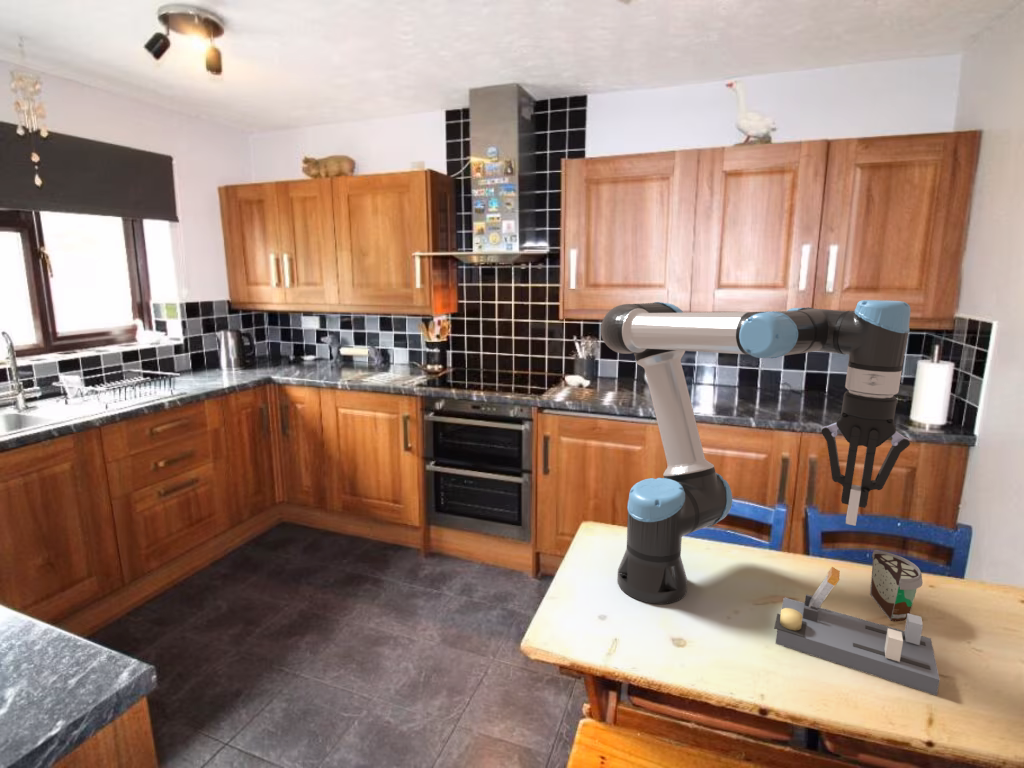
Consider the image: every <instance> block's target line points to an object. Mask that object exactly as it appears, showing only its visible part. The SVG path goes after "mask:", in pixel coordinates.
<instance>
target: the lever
mask: <svg viewBox="0 0 1024 768" xmlns="http://www.w3.org/2000/svg"><path fill="white" fill-rule="evenodd" d="M840 573H841V572H840V570H839V569H837V568H836V567H833V566H831V568H829V570H828V572H827V575H826V576H825V578H824V579H823V581H822V582H821V584H819V587H817V589H816V590H815V592H814V593H813V595H811V596H812V598H811V599H810V602H809V606H808V608H812V609H815V610H818V608H819V607H821V605H822V604H823V603H824V601H825V600H826V598H827V596H828V595H829V594H830V592H831V591H832V589H833V588H834V587H836V585H837V583H838V582H839V581H840V578H841V577H840Z"/></svg>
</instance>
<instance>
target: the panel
mask: <svg viewBox="0 0 1024 768" xmlns="http://www.w3.org/2000/svg"><path fill="white" fill-rule="evenodd" d="M812 596H813V595H811V594H808V593H806V594H805V599H804V602H802V601H798V600H797V599H796V600H795V599H791V598H788V597H783V600H782V603H781V604H782V605H781V608H780V611H781V610H782V609H784V608H791V609H794V610H797V611H798V612H800V613H801V614H802V616H803V617H802V626H801V629H800V630H796V631H795V630H789V629H787V628H785V627H783V626H782V625H781V624H780V616H781V612H780V613H777V614H776V618H775V621H774V622H775V623H774V630H776V637H775V644H776V645H778V646H781V647H785V648H787V649H792V650H793V651H798V652H801V653H803V654H807V655H810V656H813V657H816V658H819V659H822V660H825V661H829V662H832V663H835V664H838V665H841V666H844V667H847V668H849V669H853V670H856V671H859V672H862V673H866V674H868V675H871V676H875V677H877V678H881V679H884V680H887V681H890V682H892V683H896V684H900V685H903V686H906V687H909V688H912V689H915V690H918V691H920V692H921V691H922V692H924V693H927V694H930V695H933V696H938V691H939V687H940V680H941V679H940V675H939V670H938V665H937V661H936V656H935V653H934V652H935V651H934V648H933V647H934V646H933V642H932V638H931V637H927V636H924V635H921V639H920V645H917V644H913V643H910V642H906V640H905V634H904V632H905V630H902V629H900V628H899V629H898V628H895V627H893V626H888V625H884V624H881V623H878V622H874V621H870V620H867V619H864V618H861V617H857V616H852V615H849V614H845V613H842V612H838V611H834V610H831V609H827V608H823V607H822V606H820V607H819V608H818V610H815V609H812V608H808V606H809V602H810V599H811V598H812ZM888 628H889V629H893V630H896V631H900V632H902V638H903V644H902V650H901V657H900V662H898V661H895V660H891V659H888V658H885V642H886V636H887V629H888Z"/></svg>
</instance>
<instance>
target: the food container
mask: <svg viewBox="0 0 1024 768" xmlns="http://www.w3.org/2000/svg"><path fill="white" fill-rule="evenodd" d="M871 558H872V566H871V567H872V569H871V570H872V571H871V577H870V578H871V579H870V591H869V595H870V596H871V598H872V599H873V600H874V602H876V604H877V606H878V607H879V608H880V609H881V611H882V612H883V613H884V614H885V615H886V617H887V618H888V620H889V621H890V622H893V623H894V622H895V623H897V622H898V623H899V622H904V621H905V622H906V619H907V613H909V614H911V611H912V607H913V604H914V600H915V596H916V593H917V589H919V588H921V587H922V586H923V575H922V572H921V569H920V568H919V567H918V566H917V565H916V564H915V563H913V562H912V561H910V560H909V559H907V558H904V557H902V556H900V555H898V554H894V553H891V552H887V551H882V550H878V549H877V550H876V549H874V550H873V552H872V555H871Z"/></svg>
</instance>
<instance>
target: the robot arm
mask: <svg viewBox="0 0 1024 768" xmlns="http://www.w3.org/2000/svg"><path fill="white" fill-rule="evenodd" d="M856 303H857V304H856V307H855V308H854V310H838V309H837V310H836V309H825V308H813V307H793V308H789V309H787V310H783V311H781V310H779V311H774V310H773V311H728V312H727V311H723V312H721V311H719V312H718V311H716V312H715V311H713V312H712V311H711V312H710V311H709V312H708V311H707V312H706V311H705V312H697V311H696V312H683V310H682V309H681V308H679V307H678V306H676V305H675V304H672V303H669V302H661V301H654V302H648V303H644V302H643V303H623V304H619V305H617V306H614V307H613V308H611V309H610V310H609V311H607V313H606V314H605V316H604V317H603V318H602V321H601V322H602V323H601V325H600V334H601V338H602V339H601V340H602V341H603V342H604V344H605V346H607V347H608V348H609V349H610V350H612V351H613V352H615V353H617V354H618V353H619V354H628V355H629V354H633V355H634V358H635V362H636V364H637V365H639V367H642V368H643V369H644V372H645V376H646V377H645V378H646V380H647V381H646V382H647V385H648V389H649V393H650V398H651V400H652V405H653V410H654V415H655V417H656V418H655V419H656V422H657V426H658V431H659V434H660V438H661V443H662V447H663V450H664V451H663V452H664V455H665V459H666V464H667V467H666V468H665V470H664V472H663V477H657V478H653V477H651V478H645V479H642V480H640V481H638V482H636V483H634V484H633V486H632V487H631V488H630V490H629V495H628V500H627V526H626V527H627V531H626V549H625V552H624V554H623V556H622V559H621V562H620V564H619V567H618V569H617V584H618V587H619V588H620V589H621V591H623V592H624V594H626V595H628V596H629V597H631V598H634V599H636V600H638V601H640V602H644V603H648V604H655V605H656V604H659V605H661V604H662V605H663V604H664V605H665V604H670V603H671V604H672V603H675V602H678V601H680V600H681V599H683V598H684V597H685V596H686V593H687V590H688V577H687V575H686V570H685V567H684V564H683V560H682V555H681V554H682V553H681V552H682V539H683V537H684V536H687V535H689V534H692V533H693V532H696V531H699V530H702V529H704V528H707V527H711V526H714V525H716V524H717V523H719V522H721V521H722V520H724V519H725V518H726V517H727V516H728V515H729V513H730V511H731V509H732V506H733V492H732V489H731V487H730V485H729V482H728V481H727V480H726V479H724V478H723V476H722V475H721V474H720V473H717V472H716V469H715V465H714V464H713V463H712V462H710V461H708V460H707V459H706V457H705V453H704V450H703V445H702V442H701V441H702V440H701V438H700V433H699V429H698V424H697V422H696V418H695V413H694V409H693V405H692V401H691V398H690V392H689V389H688V385H687V381H686V377H685V373H684V369H683V365H682V361H681V360H682V358H683V356H684V355H685V353H686V352H697V353H698V352H703V353H719V354H736V355H750V356H751V357H754V358H756V359H777V358H780V357H785V356H791V355H798V354H799V355H800V354H804V353H811V352H823V353H829V354H831V353H832V354H839V355H848V364H847V370H846V377H845V385H844V387H845V389H847V390H846V391H845V392H844V393H843V398H842V406H841V413H840V415H839V416H838V417H837V419H836V422H834V423H831V424H829V425H828V424H827V425H823V426H822V427H821V431H820V432H821V434H822V436H823V438H824V439H825V441H826V445H827V452H828V458H829V465H830V472H831V480H832V481H833V483H838V484H840V485H841V486H842V492H841V500H840V501H841V504H844V505H847V511H846V517H845V525H850V526H857V519H858V512H859V508H864V509H866V507H868V502H869V500H868V499H869V494H870V492H871V491H873V490H877V491H881V490H883V488H884V486H885V484H886V483H887V481H888V479H889V477H890V474H891V472H892V471H893V468H894V466H895V465H896V463H897V460H898V459H899V456H900V455H901V453H902V452H903V451H905V450H906V449H907V448H908V447H909V446H910V444H911V443H910V439H909V437H908V436H906V435H902V434H901V433H900V432H898V431H897V427H896V424H895V421H894V420H895V415H896V408H897V402H898V398H897V397H896V396H895V395H897V394H898V393H899V390H900V385H901V384H900V383H901V379H902V372H903V364H904V359H905V353H906V348H907V342H908V338H909V337H908V336H909V333H910V322H911V321H910V320H911V310H912V309H911V305H910V304H908V303H907V302H906V301H903V300H902V301H901V300H890V299H889V300H886V299H885V300H881V299H880V300H879V299H862V300H860V301H858V302H856ZM838 430H839V431H840V433H841V434H842V436H843V437H844V439H845V440H846V442H847V443H849V445H848V453H847V456H846V457H847V458H846V465H845V471H844V474H842V473H841V467H840V461H839V451H838V447H837V445H838V444H837V439H836V437H837V436H838ZM891 437H892V438H891ZM890 438H891V440H890V443H891V447H890V448H889V450H888V453H887V455H886V456H885V459H884V461H883V463H882V464H881V466H880V469H879V471H878V472H877V474H876V476H875V478H874V480H873V479H872V476H873V470H874V469H873V468H874V463H875V458H876V450H877V448H879V447H880V446H881V445H883V444H884V443H885V442H887V440H889V439H890ZM859 447H865V448H866V451H865V455H864V456H865V457H864V463H863V470H862V476H861V482H860V483H861V484H860V485H858V484H857V485H856V484H853V481H854V480H853V479H854V473H855V468H856V467H855V466H856V461H857V453H858V448H859Z"/></svg>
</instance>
